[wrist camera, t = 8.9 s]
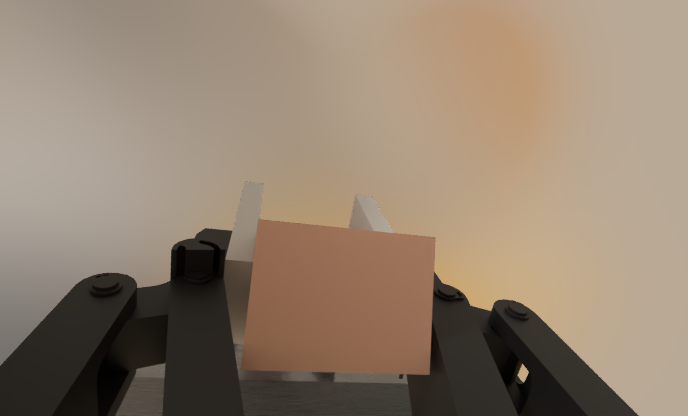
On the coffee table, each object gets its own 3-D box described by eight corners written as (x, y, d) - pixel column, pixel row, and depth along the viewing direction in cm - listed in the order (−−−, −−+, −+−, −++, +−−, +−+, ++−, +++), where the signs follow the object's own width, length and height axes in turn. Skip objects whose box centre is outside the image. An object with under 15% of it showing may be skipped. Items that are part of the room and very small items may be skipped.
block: (429, 374, 9) (435, 237, 9) (240, 370, 8) (258, 219, 8) (286, 283, 47) (288, 258, 48) (251, 281, 46) (254, 255, 47)
